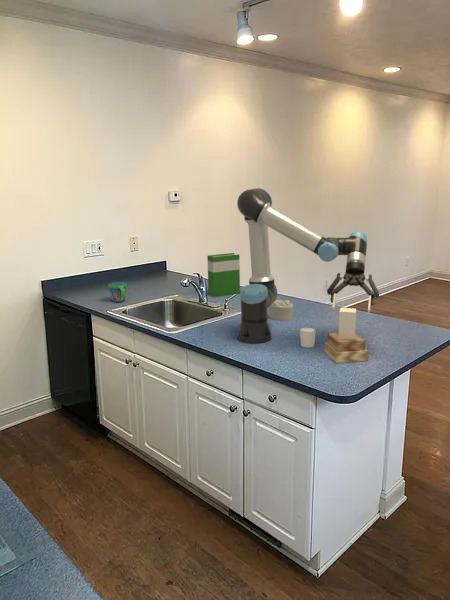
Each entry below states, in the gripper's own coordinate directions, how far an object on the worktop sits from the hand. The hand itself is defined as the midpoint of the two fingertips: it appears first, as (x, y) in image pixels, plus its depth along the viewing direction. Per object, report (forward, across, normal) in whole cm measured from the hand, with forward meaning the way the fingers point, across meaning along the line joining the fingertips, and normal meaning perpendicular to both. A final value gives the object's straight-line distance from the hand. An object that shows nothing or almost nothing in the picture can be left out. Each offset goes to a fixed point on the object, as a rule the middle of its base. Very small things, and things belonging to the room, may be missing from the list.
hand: (351, 310), depth 196 cm
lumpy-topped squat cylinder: (-17, +36, -44) cm, 60 cm away
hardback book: (-45, +80, -74) cm, 118 cm away
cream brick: (+9, +1, -5) cm, 11 cm away
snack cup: (-24, +136, -52) cm, 147 cm away
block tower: (+15, +1, -11) cm, 18 cm away
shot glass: (+9, +18, -17) cm, 26 cm away
